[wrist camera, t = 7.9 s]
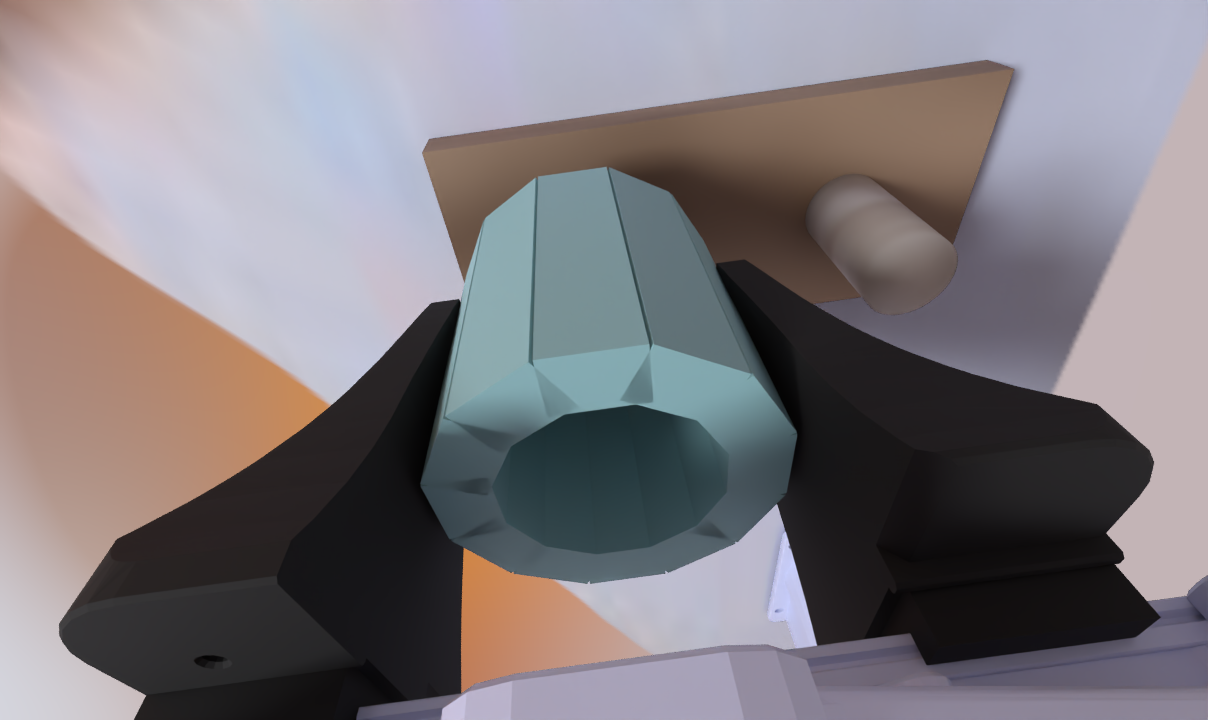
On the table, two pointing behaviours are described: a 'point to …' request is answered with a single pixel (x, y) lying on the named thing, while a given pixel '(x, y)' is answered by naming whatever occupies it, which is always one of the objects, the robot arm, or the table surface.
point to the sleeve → (601, 391)
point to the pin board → (774, 176)
